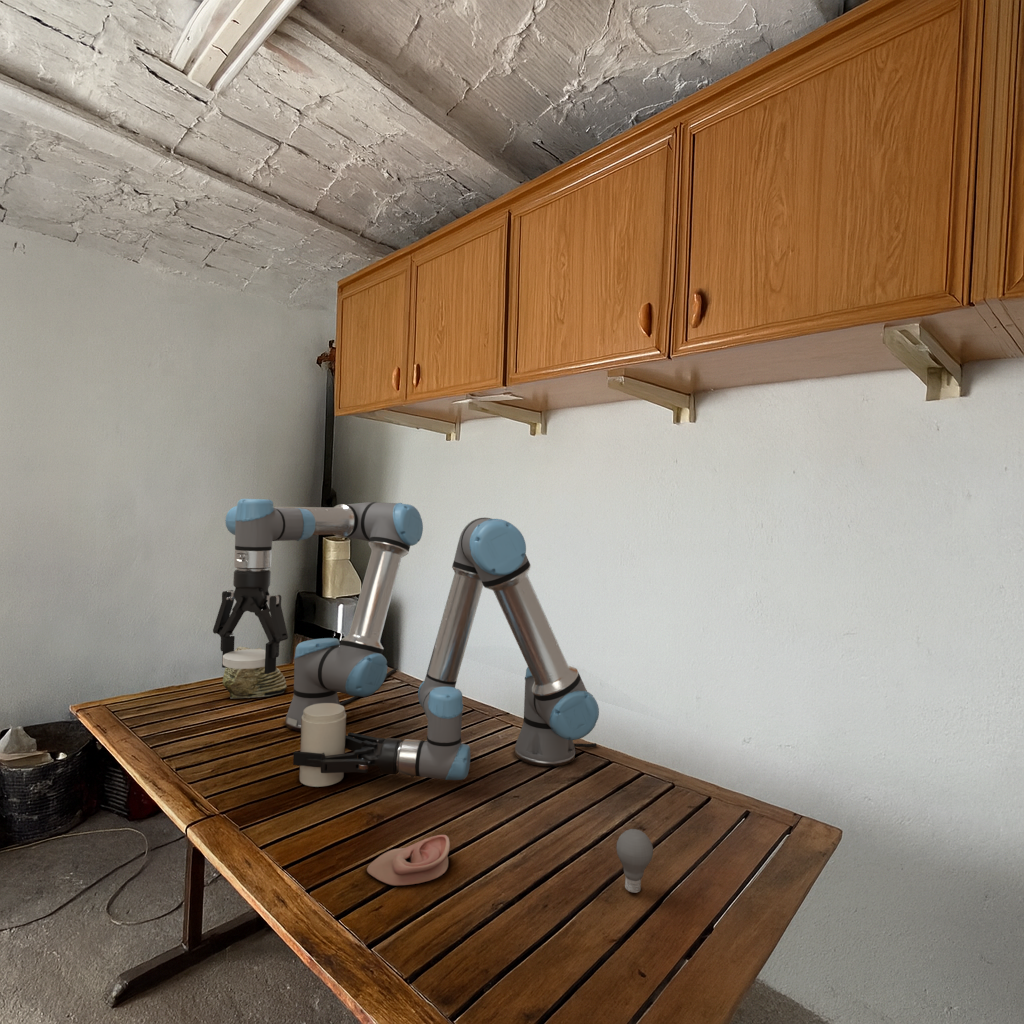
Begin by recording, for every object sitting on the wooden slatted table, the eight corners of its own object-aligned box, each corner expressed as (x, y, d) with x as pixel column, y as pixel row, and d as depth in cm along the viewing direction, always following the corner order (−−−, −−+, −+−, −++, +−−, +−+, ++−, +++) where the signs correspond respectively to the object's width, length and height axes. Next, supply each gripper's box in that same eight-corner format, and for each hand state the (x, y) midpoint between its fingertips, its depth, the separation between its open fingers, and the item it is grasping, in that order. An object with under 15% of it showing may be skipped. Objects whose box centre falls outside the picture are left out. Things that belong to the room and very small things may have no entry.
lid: (235, 671, 132) (235, 663, 132) (214, 661, 139) (214, 653, 139) (283, 663, 139) (283, 656, 139) (260, 654, 147) (261, 647, 147)
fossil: (218, 695, 195) (220, 647, 195) (278, 685, 208) (279, 640, 207) (228, 703, 189) (230, 653, 188) (289, 692, 201) (290, 645, 201)
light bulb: (610, 879, 108) (613, 822, 108) (644, 879, 109) (647, 822, 109) (619, 902, 102) (622, 840, 102) (655, 901, 103) (658, 840, 103)
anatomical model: (359, 856, 105) (387, 822, 116) (358, 879, 105) (386, 843, 116) (435, 869, 102) (456, 833, 114) (434, 893, 103) (455, 855, 114)
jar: (308, 766, 148) (310, 701, 148) (349, 769, 148) (351, 703, 147) (292, 785, 138) (295, 715, 138) (336, 788, 138) (339, 717, 138)
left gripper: (197, 566, 139) (193, 667, 139) (286, 574, 132) (282, 680, 132) (222, 563, 146) (218, 659, 146) (307, 571, 139) (303, 671, 139)
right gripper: (384, 796, 130) (280, 787, 132) (412, 753, 152) (323, 746, 155) (386, 760, 130) (282, 751, 132) (413, 722, 152) (324, 715, 154)
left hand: (248, 669), depth 139 cm, fingers closed on lid, 10 cm apart
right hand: (304, 748), depth 143 cm, fingers closed on jar, 10 cm apart
